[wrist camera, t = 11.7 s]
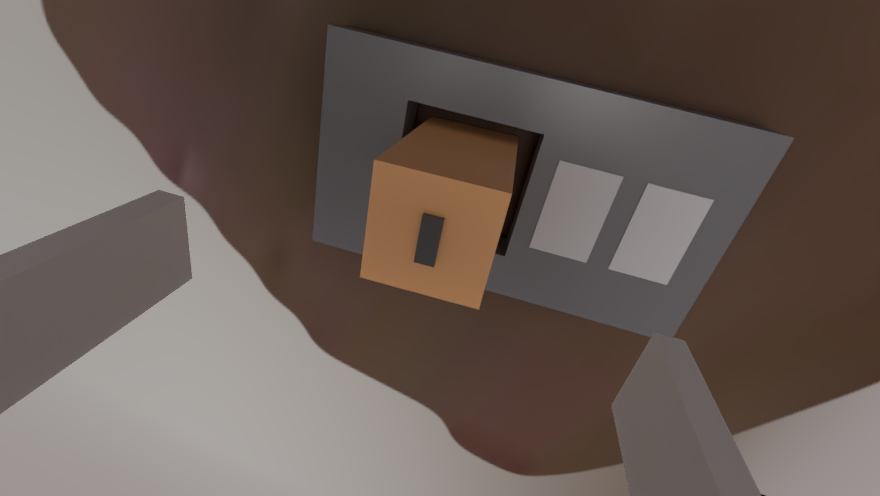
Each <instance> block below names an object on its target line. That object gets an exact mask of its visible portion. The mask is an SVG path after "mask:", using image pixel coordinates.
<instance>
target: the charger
mask: <svg viewBox="0 0 880 496" xmlns="http://www.w3.org/2000/svg"><path fill="white" fill-rule="evenodd" d="M518 139H519V137H518V136H514V135H510V134H506V133H501V132H497V131H493V130H489V129H484V128H480V127H476V126H472V125H467V124H463V123H459V122H455V121H451V120H446V119H442V118H438V117H434V116H432V117H430V118H429V119H428V120H426V121H425V122H424V123H422V124H421V125H420V126H418V127H417V128H416V129H414V130H413V131H412V132H410V133H409V134H408V135H406V136H405V137H404V138H402V139H401V140H400V141H398V142H397V143H396V144H394V145H393V146H392V147H390V148H389V149H388V150H386V151H385V152H384V153H382V154H381V155H380V156H378V157H377V158H376V159H374V164H373V173H372V181H371V189H370V198H369V206H368V215H367V223H366V231H365V240H364V248H363V257H362V265H361V274H360V277H361V278H365V279H368V280H372V281H376V282H379V283H383V284H387V285H390V286H394V287H398V288H401V289H405V290H409V291H412V292H416V293H419V294H423V295H427V296H430V297H434V298H438V299H441V300H445V301H449V302H452V303H456V304H460V305H463V306H467V307H471V308H474V309H478V310H479V307H480V303H481V300H482V296H483V293H484V289H485V286H486V283H487V279H488V276H489V272H490V269H491V265H492V262H493V258H494V255H495V252H496V248H497V245H498V241H499V238H500V234H501V231H502V227H503V224H504V220H505V217H506V214H507V210H508V207H509V203H510V200H511V196H512V191H513V183H514V174H515V165H516V157H517V148H518Z"/></svg>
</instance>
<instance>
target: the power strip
mask: <svg viewBox="0 0 880 496" xmlns="http://www.w3.org/2000/svg"><path fill="white" fill-rule="evenodd" d="M418 103H421V104H425V105H429V106H433V107H437V108H441V109H445V110H449V111H453V112H457V113H461V114H465V115H469V116H473V117H477V118H481V119H485V120H488V121H492V122H496V123H500V124H504V125H508V126H512V127H516V128H520V129H524V130H528V131H532V132H536V133H540V137H539V140H538V143H537V146H536V149H535V152H534V156H533V159H532V162H531V165H530V168H529V171H528V174H527V177H526V181H525V184H524V187H523V190H522V193H521V196H520V199H519V202H518V206H517V209H516V212H515V215H514V218H513V221H512V224H511V227H510V230H509V234H508V237H507V238H504V237H500V238H499V241H498V245H497V248H496V252H495V255H494V258H493V262H492V265H491V269H490V272H489V276H488V279H487V283H486V286H485V289H484V290H487V291H491V292H494V293H498V294H501V295H505V296H509V297H512V298H516V299H519V300H523V301H526V302H530V303H533V304H537V305H540V306H544V307H547V308H551V309H554V310H558V311H561V312H565V313H568V314H572V315H575V316H579V317H582V318H586V319H589V320H593V321H596V322H600V323H603V324H607V325H610V326H614V327H617V328H621V329H624V330H628V331H631V332H635V333H638V334H642V335H645V336H649V337H652V336H653V334H654V332H656V333H660V334H663V335H667V336H670V337H673V336H674V335H675V333H676V332H677V330H678V328H679V327H680V325H681V323H682V322H683V320H684V318H685V317H686V315H687V313H688V312H689V310H690V309H691V307H692V305H693V304H694V302H695V300H696V299H697V297H698V295H699V294H700V292H701V291H702V289H703V287H704V286H705V284H706V282H707V281H708V279H709V277H710V276H711V274H712V272H713V271H714V269H715V268H716V266H717V264H718V263H719V261H720V259H721V258H722V256H723V254H724V253H725V251H726V250H727V248H728V246H729V245H730V243H731V241H732V240H733V238H734V236H735V235H736V233H737V232H738V230H739V228H740V227H741V225H742V223H743V222H744V220H745V218H746V217H747V215H748V213H749V212H750V210H751V209H752V207H753V205H754V204H755V202H756V200H757V199H758V197H759V195H760V194H761V192H762V191H763V189H764V187H765V186H766V184H767V182H768V181H769V179H770V177H771V176H772V174H773V173H774V171H775V169H776V168H777V166H778V164H779V163H780V161H781V159H782V158H783V156H784V154H785V153H786V151H787V150H788V148H789V146H790V145H791V143H792V141H793V140H794V137H791V136H788V135H785V134H782V133H780V132H777V131H774V130H771V129H768V128H765V127H761V126H757V125H753V124H749V123H745V122H740V121H736V120H732V119H728V118H724V117H720V116H716V115H712V114H707V113H703V112H699V111H695V110H691V109H687V108H683V107H679V106H675V105H670V104H666V103H662V102H658V101H654V100H650V99H646V98H642V97H637V96H633V95H629V94H625V93H621V92H617V91H613V90H609V89H604V88H600V87H596V86H592V85H588V84H584V83H580V82H576V81H571V80H567V79H563V78H559V77H555V76H551V75H547V74H543V73H538V72H534V71H530V70H526V69H522V68H518V67H514V66H510V65H506V64H501V63H497V62H493V61H489V60H485V59H481V58H477V57H473V56H468V55H464V54H460V53H456V52H452V51H448V50H444V49H440V48H435V47H431V46H427V45H423V44H419V43H415V42H411V41H407V40H402V39H398V38H394V37H390V36H386V35H382V34H378V33H374V32H370V31H365V30H361V29H357V28H353V27H349V26H340V25H330V24H328V27H327V41H326V55H325V69H324V83H323V97H322V111H321V125H320V139H319V153H318V167H317V181H316V195H315V209H314V223H313V237H312V241H316V242H319V243H323V244H326V245H330V246H333V247H337V248H340V249H344V250H347V251H351V252H354V253H358V254H361V255H363V248H364V240H365V231H366V223H367V215H368V206H369V198H370V189H371V181H372V173H373V164H374V159H376V158H377V157H378V156H380V155H381V154H382V153H384V152H385V151H386V150H388V149H389V148H390V147H392V146H393V145H394V144H396V143H397V142H398V141H400V140H401V139H402V138H404V137H405V136H406V135H408V134H409V133H410V132H412V131H413V129H414V124H415V118H416V112H417V107H418Z"/></svg>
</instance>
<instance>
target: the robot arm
mask: <svg viewBox="0 0 880 496" xmlns="http://www.w3.org/2000/svg"><path fill="white" fill-rule="evenodd" d="M190 279H192V273H191V263H190V254H189V244H188V233H187V224H186V215H185V204H184V197H181V196H178V195H175V194H171V193H167V192H164V191H160V190H158V191H155V192H153V193H150V194H148V195H146V196H143V197H141V198H138V199H136V200H133V201H131V202H129V203H126V204H124V205H121V206H119V207H116V208H114V209H112V210H109V211H107V212H105V213H102V214H99V215H97V216H95V217H92V218H90V219H87V220H85V221H82V222H80V223H77V224H75V225H73V226H70V227H68V228H65V229H63V230H61V231H58V232H56V233H53V234H51V235H48V236H46V237H44V238H41V239H39V240H36V241H34V242H31V243H29V244H27V245H24V246H22V247H19V248H17V249H14V250H12V251H9V252H7V253H5V254H2V255H0V414H1V413H2V412H4V411H5V410H7V409H8V408H9V407H10V406H12V405H14V404H15V403H16V402H18V401H19V400H21V399H22V398H24V397H25V396H26V395H28V394H29V393H31V392H32V391H33V390H35V389H36V388H38V387H39V386H40V385H42V384H43V383H45V382H46V381H48V380H49V379H50V378H52V377H53V376H55V375H56V374H57V373H59V372H60V371H62V370H63V369H64V368H66V367H67V366H69V365H70V364H72V363H73V362H74V361H76V360H77V359H79V358H80V357H81V356H83V355H84V354H85V353H87V352H88V351H90V350H91V349H93V348H94V347H95V346H97V345H98V344H100V343H101V342H103V341H104V340H105V339H107V338H108V337H109V336H111V335H113V334H114V333H115V332H117V331H118V330H120V329H121V328H122V327H124V326H125V325H127V324H128V323H129V322H131V321H132V320H134V319H135V318H137V317H138V316H139V315H141V314H142V313H144V312H145V311H146V310H148V309H149V308H151V307H152V306H153V305H155V304H156V303H158V302H159V301H160V300H162V299H163V298H165V297H166V296H168V295H169V294H170V293H172V292H173V291H175V290H176V289H177V288H179V287H180V286H182V285H183V284H185V283H186V282H187V281H189V280H190ZM611 406H612V411H613V415H614V420H615V425H616V430H617V435H618V439H619V444H620V449H621V454H622V459H623V463H624V468H625V472H626V477H627V483H628V487H629V492H630V496H765V495H762V494H760V492H759V490H758V488H757V486H756V484H755V482H754V480H753V478H752V476H751V474H750V472H749V469H748V467H747V466H746V463H745V461H744V459H743V457H742V455H741V453H740V451H739V449H738V447H737V445H736V443H735V441H734V439H733V437H732V435H731V433H730V431H729V429H728V427H727V425H726V423H725V421H724V419H723V417H722V415H721V413H720V411H719V409H718V407H717V405H716V403H715V401H714V399H713V397H712V395H711V393H710V391H709V389H708V387H707V384H706V382H705V380H704V378H703V376H702V374H701V372H700V370H699V368H698V366H697V364H696V362H695V360H694V358H693V356H692V354H691V352H690V350H689V348H688V346H687V344H686V342H685V341H684V340H680V339H677V338H673V337H670V336H667V335H663V334H660V333H656V332H654V334H653V336H652V337H651V339H650V341H649V342H648V344H647V346H646V347H645V349H644V351H643V353H642V354H641V356H640V358H639V359H638V361H637V363H636V364H635V366H634V368H633V369H632V371H631V373H630V375H629V376H628V378H627V380H626V381H625V383H624V385H623V386H622V388H621V390H620V391H619V393H618V395H617V397H616V398H615V400H614V402H613V403H612V405H611Z"/></svg>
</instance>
